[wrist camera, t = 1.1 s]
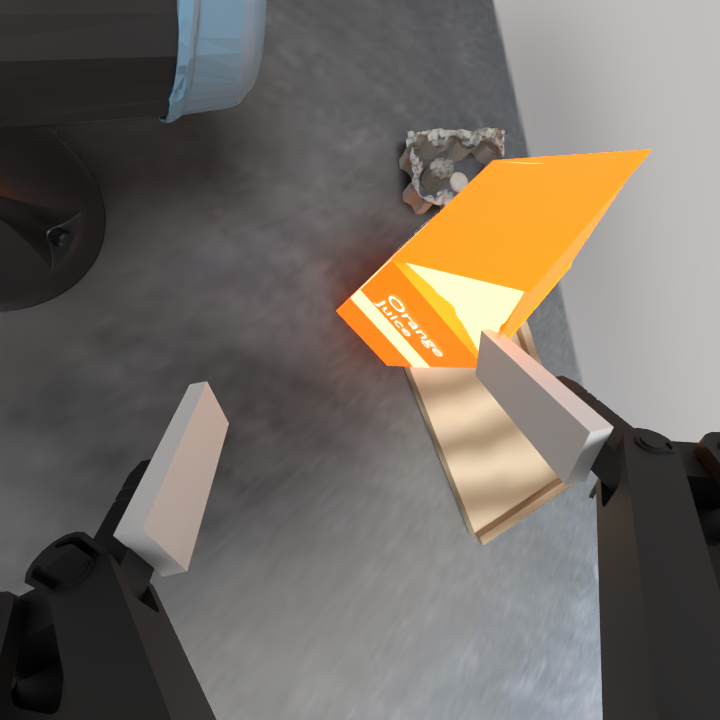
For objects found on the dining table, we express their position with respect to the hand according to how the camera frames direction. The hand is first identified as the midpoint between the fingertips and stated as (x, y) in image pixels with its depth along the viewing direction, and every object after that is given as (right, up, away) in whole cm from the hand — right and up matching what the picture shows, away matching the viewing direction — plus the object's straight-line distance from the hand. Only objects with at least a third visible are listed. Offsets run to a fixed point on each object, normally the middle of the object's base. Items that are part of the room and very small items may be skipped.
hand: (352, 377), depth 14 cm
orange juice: (+3, +6, +16) cm, 17 cm away
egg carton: (+9, +20, +18) cm, 28 cm away
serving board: (+15, -6, +19) cm, 25 cm away
